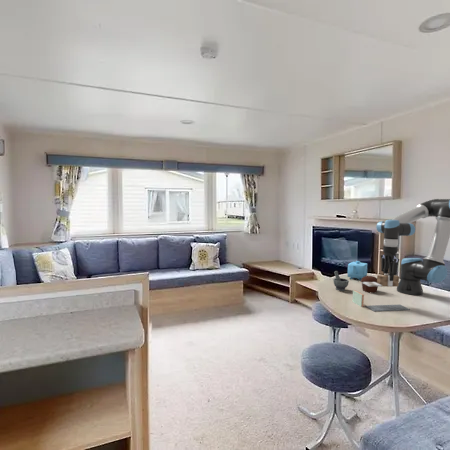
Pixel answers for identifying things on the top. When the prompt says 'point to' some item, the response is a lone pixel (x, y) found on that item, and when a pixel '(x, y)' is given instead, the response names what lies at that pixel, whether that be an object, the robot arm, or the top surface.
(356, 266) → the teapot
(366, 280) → the muffin
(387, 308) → the tool mat
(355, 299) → the tile
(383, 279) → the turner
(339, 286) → the mortar and pestle
